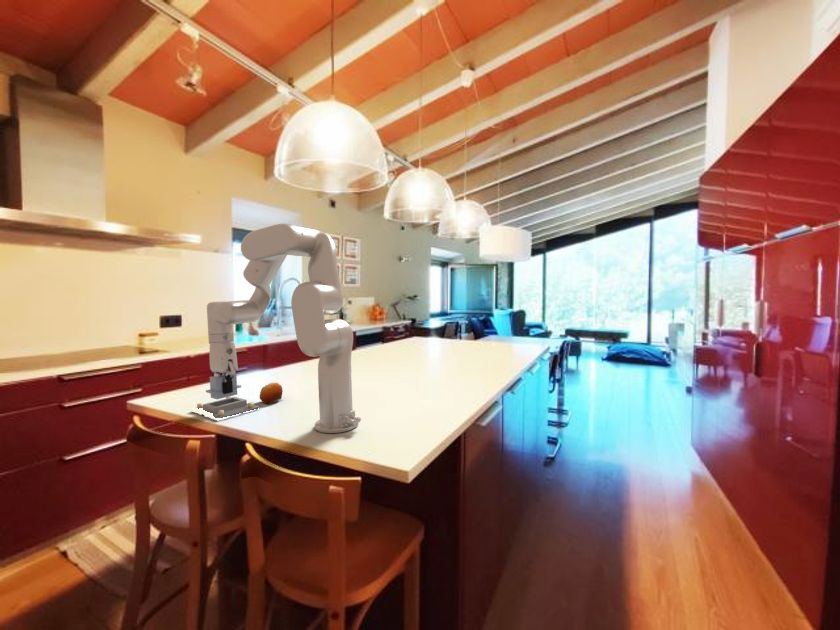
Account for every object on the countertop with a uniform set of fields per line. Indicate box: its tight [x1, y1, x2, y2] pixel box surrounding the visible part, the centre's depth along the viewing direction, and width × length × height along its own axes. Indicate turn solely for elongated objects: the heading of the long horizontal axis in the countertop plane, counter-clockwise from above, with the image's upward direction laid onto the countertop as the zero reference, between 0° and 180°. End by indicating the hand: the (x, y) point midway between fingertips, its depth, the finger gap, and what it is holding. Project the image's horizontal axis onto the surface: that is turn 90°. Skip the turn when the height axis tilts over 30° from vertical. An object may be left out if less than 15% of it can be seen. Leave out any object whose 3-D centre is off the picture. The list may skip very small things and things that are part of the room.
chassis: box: [196, 396, 260, 418], centre depth 133 cm, size 18×14×3 cm
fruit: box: [259, 382, 284, 404], centre depth 142 cm, size 8×8×8 cm
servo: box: [205, 373, 242, 400], centre depth 132 cm, size 4×10×8 cm, turn 144°
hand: (224, 391), depth 132 cm, fingers closed on servo, 4 cm apart
